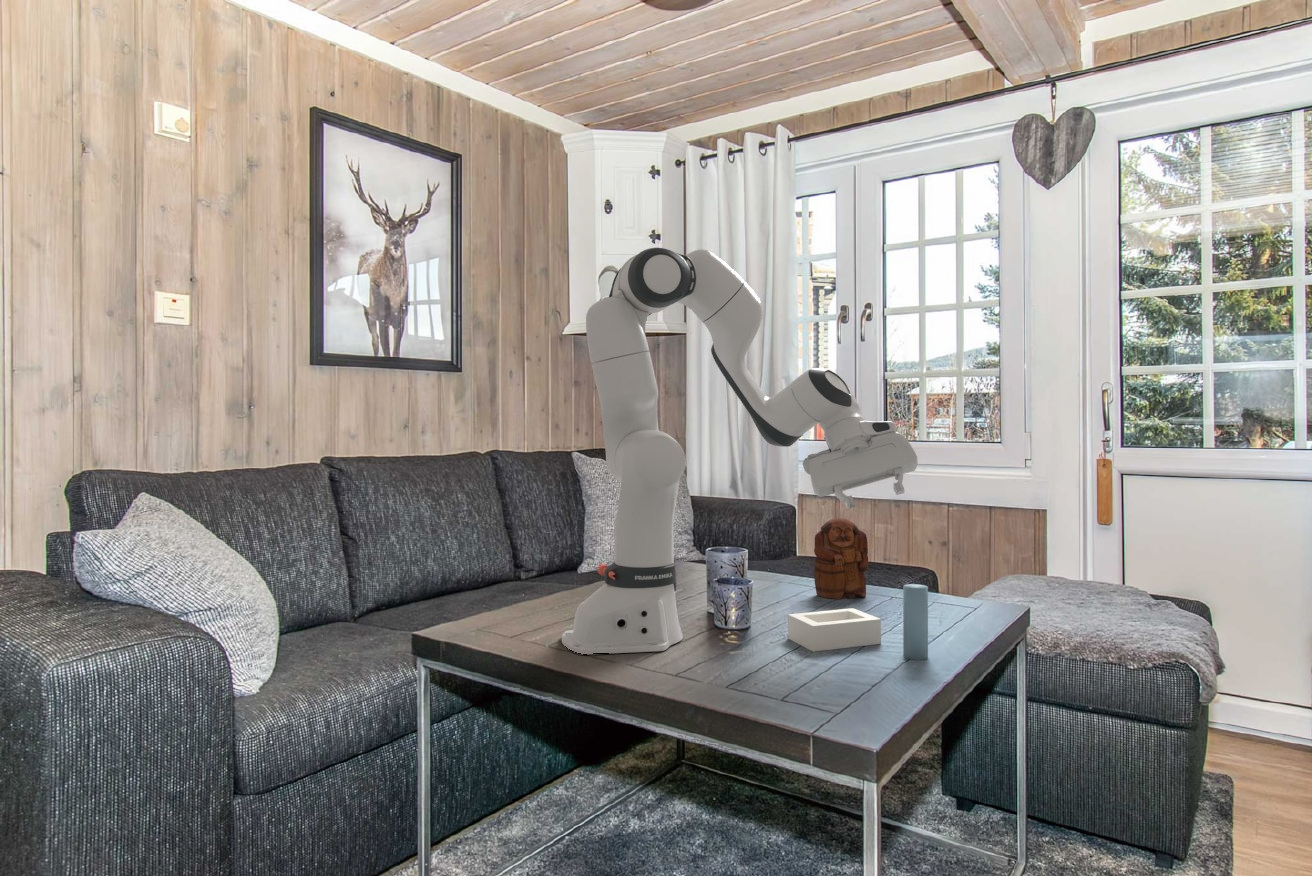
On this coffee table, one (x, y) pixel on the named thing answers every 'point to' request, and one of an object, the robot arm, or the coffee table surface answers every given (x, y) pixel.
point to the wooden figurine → (840, 560)
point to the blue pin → (915, 621)
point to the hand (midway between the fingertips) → (875, 499)
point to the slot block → (834, 629)
